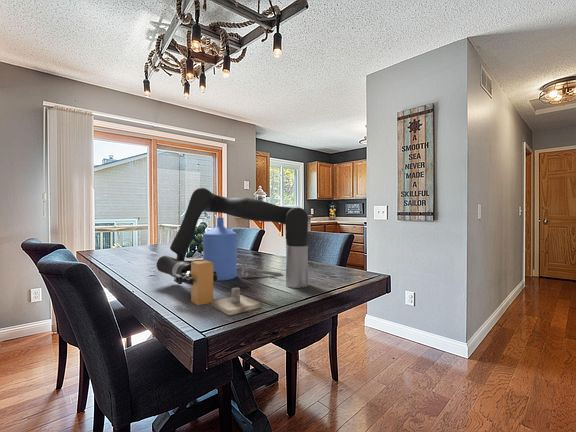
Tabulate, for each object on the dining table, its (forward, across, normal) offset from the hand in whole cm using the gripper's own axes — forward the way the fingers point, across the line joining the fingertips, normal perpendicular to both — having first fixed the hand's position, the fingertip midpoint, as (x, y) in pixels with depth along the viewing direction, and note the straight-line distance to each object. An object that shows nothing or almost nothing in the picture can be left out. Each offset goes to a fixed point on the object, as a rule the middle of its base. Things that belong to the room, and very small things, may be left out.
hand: (204, 280), depth 106 cm
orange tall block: (-2, 0, +8) cm, 8 cm away
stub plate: (+10, +6, +8) cm, 14 cm away
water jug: (-31, +23, +8) cm, 39 cm away
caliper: (-20, +40, +8) cm, 46 cm away
